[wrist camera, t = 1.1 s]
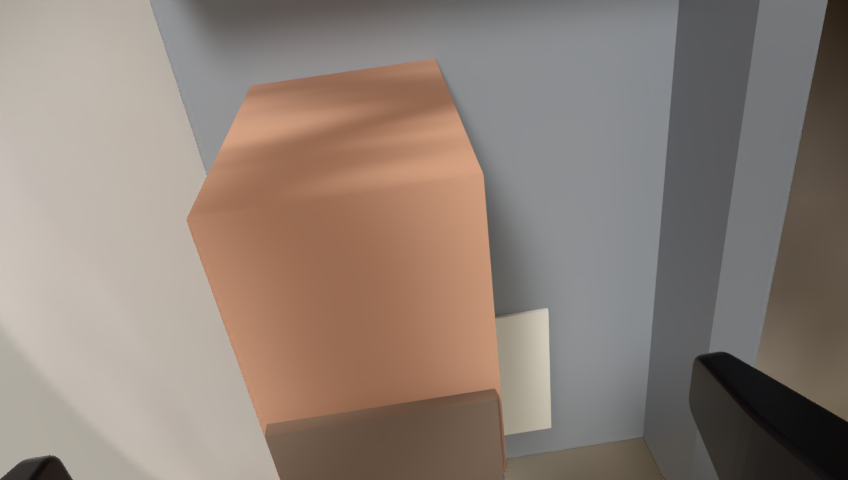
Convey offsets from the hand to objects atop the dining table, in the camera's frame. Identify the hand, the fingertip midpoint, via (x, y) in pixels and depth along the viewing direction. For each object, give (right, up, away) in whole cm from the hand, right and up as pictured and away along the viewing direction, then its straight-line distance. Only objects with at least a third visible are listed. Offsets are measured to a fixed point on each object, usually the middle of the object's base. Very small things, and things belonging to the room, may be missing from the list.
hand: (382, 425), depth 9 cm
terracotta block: (-1, +4, +6) cm, 7 cm away
